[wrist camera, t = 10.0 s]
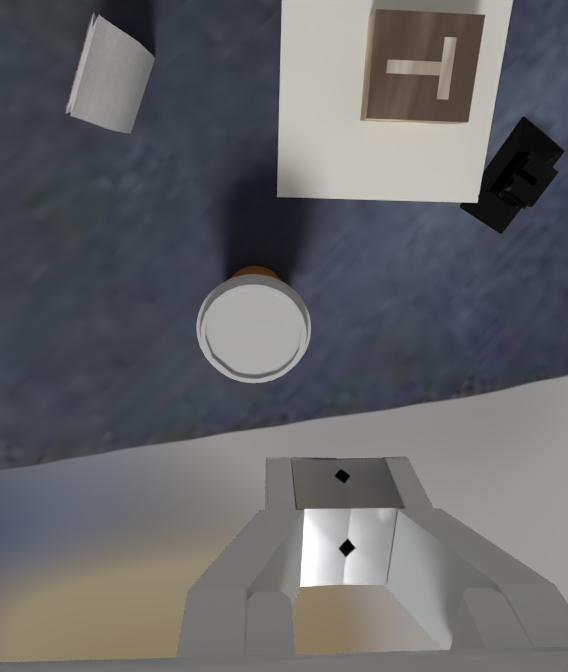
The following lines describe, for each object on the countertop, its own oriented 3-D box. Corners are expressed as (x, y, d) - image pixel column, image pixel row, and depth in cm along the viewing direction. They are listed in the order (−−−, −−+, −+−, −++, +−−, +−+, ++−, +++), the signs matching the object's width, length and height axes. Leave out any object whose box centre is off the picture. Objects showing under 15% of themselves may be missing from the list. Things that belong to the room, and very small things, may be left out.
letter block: (368, 19, 40) (469, 24, 41) (360, 120, 43) (455, 124, 44) (376, 9, 37) (485, 14, 38) (367, 118, 40) (468, 122, 41)
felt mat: (524, -72, 39) (525, -73, 38) (476, 202, 46) (477, 202, 46) (284, -87, 38) (284, -88, 37) (277, 196, 45) (277, 196, 45)
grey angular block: (155, 57, 41) (124, 27, 31) (130, 133, 43) (94, 126, 34) (114, 36, 40) (69, -1, 31) (91, 115, 42) (43, 102, 33)
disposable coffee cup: (197, 264, 47) (177, 297, 36) (287, 238, 47) (295, 264, 36) (225, 347, 51) (216, 400, 40) (310, 324, 50) (324, 371, 39)
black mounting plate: (524, 99, 44) (553, 93, 40) (579, 143, 45) (612, 141, 41) (442, 214, 47) (460, 220, 43) (496, 251, 49) (518, 260, 45)
